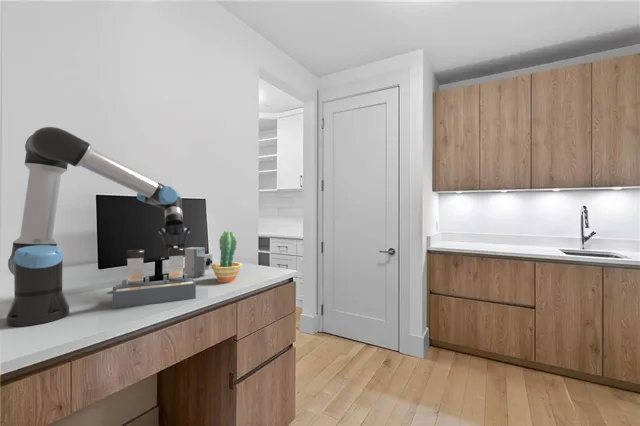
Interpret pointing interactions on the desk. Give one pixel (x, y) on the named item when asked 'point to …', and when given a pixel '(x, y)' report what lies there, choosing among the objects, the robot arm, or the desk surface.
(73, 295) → the desk surface
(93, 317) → the desk surface
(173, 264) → the right lever
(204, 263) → the circuit breaker
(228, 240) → the potted cactus
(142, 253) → the left lever
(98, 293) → the desk surface
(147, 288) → the switch base
